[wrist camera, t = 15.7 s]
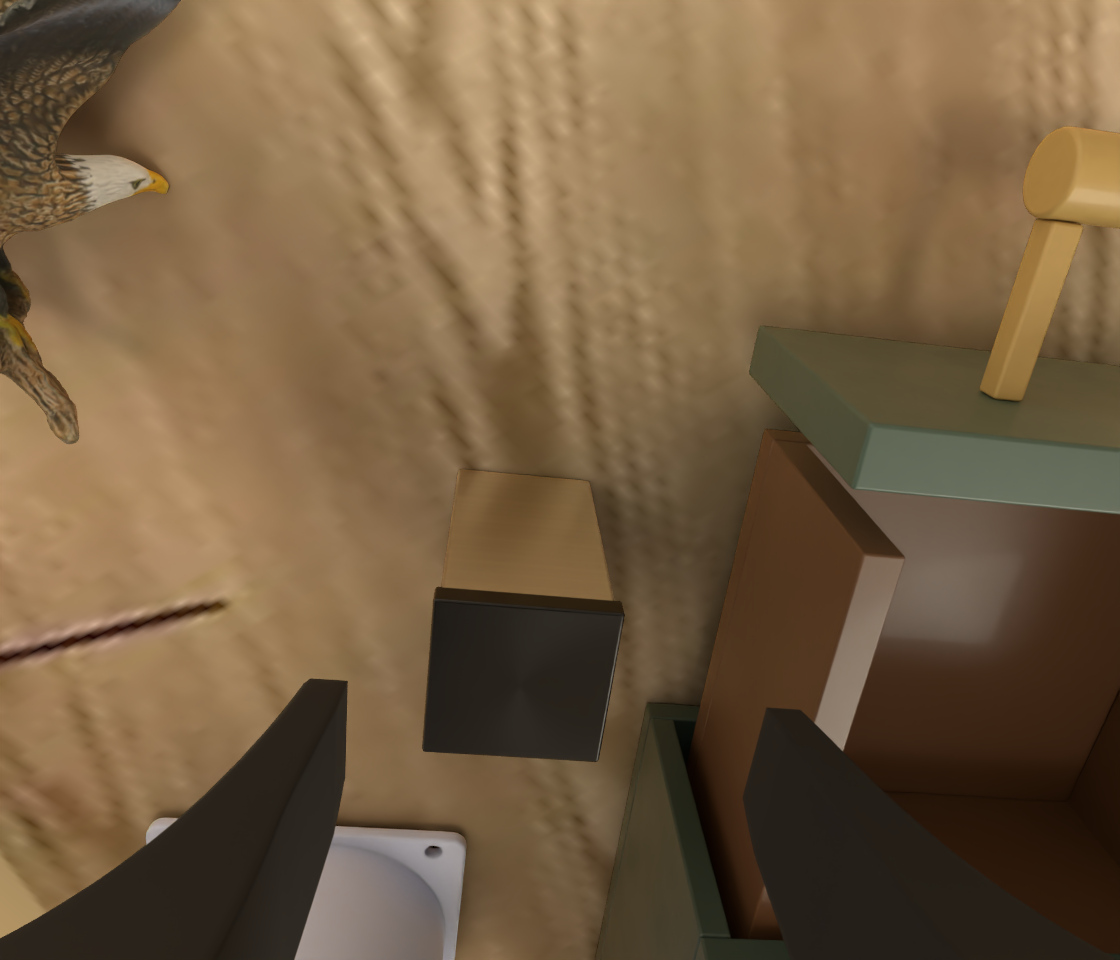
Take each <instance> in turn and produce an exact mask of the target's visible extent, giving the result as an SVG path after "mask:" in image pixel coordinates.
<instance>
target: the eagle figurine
mask: <svg viewBox="0 0 1120 960" xmlns="http://www.w3.org/2000/svg"><path fill="white" fill-rule="evenodd" d="M180 1H181V0H0V373H2V374H4V375H6V376H7V377H9V378H10V379H11V380H13V381H14V382H15V383H16V384H17V385H18V386H19V387H20V388H22V389H23V390H24V391H25V392H26V393H27V394H28V395H29V396H30V397H31V398H32V399H33V400H35V401H36V403H37V404H38V405H39V406H40V407H41V408H42V410H43V411H44V412H45V414H46V415H47V421H48V423H49V426H50V428H51V430H52V431H53V432H54V434H55V435H56V436H57V437H58V438H59V439H60V440H62V441H63V442H64V443H66V444H73V443H76V442H77V441H78V439H79V427H78V420H77V410H76V406H75V404H74V403H73V402H72V401H71V400H70V398H69V396H68V394H67V392H66V390H65V389H64V388H63V387H62V386H61V384H60V382H59V381H58V380H57V379H56V377H55V376H54V375H53V374H52V373H51V372H49V371H47V370H46V369H45V368H44V367H43V365H42V360H41V357H40V355H39V352H38V350H37V348H36V346H35V344H34V343H33V342H32V338H31V337H30V335H29V334H28V333H27V331H26V330H25V327H24V324H23V322H24V319H25V318H26V317H27V312H28V311H29V309H30V297H29V291H28V289H27V288H26V287H25V285H24V284H23V282H22V281H21V279H20V278H19V276H18V275H17V274H16V273H15V272H14V271H12V269H11V265H10V263H9V261H8V259H7V257H6V255H5V253H4V251H3V244H4V243H5V242H6V241H7V240H8V239H10V238H11V237H12V236H13V235H15V234H16V233H18V232H23V231H39V230H42V229H45V228H48V227H52V226H55V225H57V224H60V223H65V222H68V221H72V220H73V219H75V218H76V217H78V216H80V215H82V214H85V213H87V212H90V211H92V210H95V209H97V208H99V207H101V206H104V205H106V204H109V203H112V202H114V201H117V200H120V199H124V198H127V197H130V196H133V195H136V194H138V193H141V192H146V191H156V192H158V193H161V194H166V193H167V191H168V187H169V186H168V183H167V181H166V180H165V179H164V178H163V177H162V176H161V175H159V174H157V173H155V172H153V171H151V170H148V169H146V168H144V167H143V166H141V165H139V164H137V163H135V162H133V161H131V160H128V159H126V158H123V157H119V156H114V155H68V154H58V153H56V149H57V141H58V138H59V136H60V134H61V131H62V129H63V127H64V126H65V124H66V123H67V121H68V120H69V118H70V117H71V115H72V114H74V113H75V111H76V110H77V109H78V108H79V107H80V106H81V105H82V104H83V103H85V102H86V101H87V100H88V99H89V98H90V97H91V96H93V95H94V94H95V93H96V92H97V91H98V90H99V89H100V88H101V87H102V86H103V85H104V84H105V83H106V82H107V81H108V80H109V78H110V77H111V76H112V74H113V72H114V71H115V69H116V67H117V65H118V63H119V61H120V59H121V57H122V55H123V53H124V52H125V51H126V50H127V48H128V47H129V46H130V45H131V44H132V43H133V42H135V41H137V40H139V39H140V38H142V37H143V36H145V35H147V34H148V33H149V32H150V31H151V30H152V29H154V28H155V27H156V26H157V25H159V24H160V23H161V22H162V21H163V20H164V19H165V18H166V17H167V15H168V14H169V13H170V12H171V11H172V10H173V9H174V8H175V7H176V6H177V4H178V3H179V2H180Z"/></svg>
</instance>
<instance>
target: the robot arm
mask: <svg viewBox="0 0 1120 960" xmlns="http://www.w3.org/2000/svg"><path fill="white" fill-rule="evenodd" d="M347 683H348V681H340V680H324V679H309V680H308V681H307V682H305V683H304V684H303V685H302V686H301V688H300V689H299V691H298V692H297V693H296V695H295V696H294V697H293V698H292V700H291V701H290V702H289V704H288V705H287V706H286V707H285V709H284V710H283V711H282V712H281V714H280V715H279V716H278V717H277V718H276V720H275V721H274V722H273V723H272V724H271V725H270V727H269V728H268V729H267V730H266V731H265V733H264V734H263V735H262V736H261V737H260V738H259V739H258V740H257V741H256V742H255V744H254V745H253V746H252V747H251V748H250V749H249V750H248V751H247V752H246V753H245V755H244V756H243V757H242V758H241V759H240V760H239V761H238V762H237V763H236V764H235V765H234V766H233V767H232V768H231V769H230V770H229V771H228V772H227V773H226V774H225V775H224V776H223V777H222V778H221V779H220V780H219V781H218V782H217V783H216V784H215V785H214V786H213V787H212V788H211V789H210V790H209V791H208V792H207V793H206V794H205V795H204V796H203V797H202V798H201V799H200V800H199V801H197V802H196V803H195V804H194V805H193V806H192V807H191V808H190V809H189V810H187V811H186V812H185V813H184V814H183V815H182V816H181V817H179V818H159V819H156V820H154V821H153V822H152V823H151V825H150V827H149V829H148V831H147V833H146V845H145V846H144V847H143V848H141V849H140V850H139V851H137V852H136V853H135V854H133V855H132V856H131V857H129V858H128V859H127V860H125V861H124V862H123V863H121V864H120V865H119V866H117V867H116V868H115V869H113V870H112V871H110V872H109V873H108V874H106V875H105V876H103V877H102V878H100V879H99V880H97V881H96V882H95V883H93V884H92V885H90V886H88V887H87V888H85V889H84V890H82V891H81V892H79V893H77V894H76V895H74V896H73V897H71V898H70V899H68V900H66V901H65V902H63V903H62V904H60V905H58V906H57V907H55V908H53V909H52V910H50V911H48V912H47V913H45V914H43V915H42V916H40V917H39V918H37V919H35V920H33V921H31V922H30V923H28V924H26V925H24V926H23V927H21V928H19V929H17V930H15V931H13V932H11V933H10V934H8V935H6V936H4V937H2V938H0V960H455V951H456V942H457V933H458V923H459V914H460V905H461V896H462V886H463V877H464V868H465V858H466V846H467V844H466V840H465V838H464V837H463V836H462V835H460V834H459V833H455V832H446V831H426V830H406V829H386V828H366V827H346V826H336V821H337V816H338V811H339V806H340V801H341V796H342V791H343V785H344V780H345V761H346V722H347ZM743 803H744V808H745V813H746V818H747V824H748V829H749V833H750V838H751V842H752V847H753V851H754V855H755V858H756V861H757V864H758V867H759V870H760V873H761V876H762V879H763V882H764V885H765V888H766V891H767V894H768V897H769V900H770V902H771V905H772V908H773V911H774V914H775V917H776V920H777V922H778V925H779V928H780V931H781V934H782V937H783V940H784V942H785V945H786V948H787V951H788V954H789V957H790V960H1117V959H1116V958H1114V957H1112V956H1110V955H1108V954H1107V953H1105V952H1103V951H1101V950H1100V949H1098V948H1096V947H1094V946H1093V945H1091V944H1089V943H1087V942H1086V941H1084V940H1082V939H1080V938H1079V937H1077V936H1075V935H1074V934H1072V933H1070V932H1069V931H1067V930H1065V929H1064V928H1062V927H1060V926H1059V925H1057V924H1055V923H1054V922H1052V921H1051V920H1049V919H1047V918H1046V917H1044V916H1043V915H1041V914H1040V913H1038V912H1037V911H1035V910H1034V909H1032V908H1031V907H1029V906H1028V905H1026V904H1025V903H1023V902H1022V901H1020V900H1019V899H1017V898H1015V897H1014V896H1012V895H1011V894H1009V893H1008V892H1007V891H1005V890H1004V889H1002V888H1001V887H999V886H998V885H997V884H995V883H994V882H992V881H991V880H990V879H988V878H987V877H985V876H984V875H983V874H982V873H980V872H979V871H978V870H976V869H975V868H974V867H972V866H971V865H970V864H968V863H967V862H966V861H964V860H963V859H962V858H960V857H959V856H958V855H957V854H955V853H954V852H953V851H951V850H950V849H949V848H948V847H946V846H945V845H944V844H943V843H941V842H940V841H939V840H938V839H937V838H935V837H934V836H933V835H932V834H931V833H930V832H928V831H927V830H926V829H925V828H924V827H923V826H922V825H920V824H919V823H918V822H917V821H916V820H915V819H913V818H912V817H911V816H910V815H909V814H908V813H907V812H905V811H904V810H903V809H902V808H901V807H900V806H899V805H898V804H897V803H896V802H895V801H893V800H892V799H891V798H890V797H889V796H888V795H887V794H886V793H885V792H884V791H883V790H882V789H881V788H880V787H879V786H877V785H876V784H875V783H874V782H873V781H872V780H871V779H870V778H869V777H868V776H867V775H866V774H865V773H864V772H863V771H862V770H861V769H860V768H859V767H858V766H857V765H856V764H855V763H854V762H853V761H852V760H851V759H850V758H849V757H848V756H847V755H846V754H845V753H844V752H843V751H842V750H841V749H840V748H839V747H838V746H837V745H836V744H835V743H834V742H833V741H832V740H831V739H830V738H829V737H828V736H827V735H826V734H825V733H824V732H823V731H822V730H821V729H820V728H819V727H818V726H817V725H816V724H815V723H814V722H813V721H812V720H811V719H810V718H809V717H808V716H807V715H806V714H804V713H803V712H802V711H801V710H798V709H783V708H767V707H766V711H765V715H764V719H763V722H762V726H761V730H760V734H759V737H758V741H757V745H756V749H755V752H754V756H753V760H752V764H751V768H750V771H749V775H748V779H747V783H746V786H745V790H744V794H743ZM429 846H438V848H431V847H429Z"/></svg>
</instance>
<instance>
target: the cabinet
mask: <svg viewBox="0 0 1120 960" xmlns="http://www.w3.org/2000/svg"><path fill="white" fill-rule="evenodd" d="M699 709H700V706H689V705H674V704H659V703H647V705H646V710H645V715H644V720H643V725H642V730H641V735H640V740H639V745H638V750H637V755H636V760H635V765H634V770H633V775H632V780H631V785H630V789H629V794H628V799H627V804H626V809H625V814H624V819H623V824H622V829H621V834H620V839H619V844H618V849H617V854H616V859H615V864H614V869H613V874H612V879H611V884H610V889H609V894H608V898H607V903H606V908H605V913H604V918H603V923H602V928H601V933H600V938H599V943H598V948H597V953H596V958H595V960H790V957H789V954H788V951H787V948H786V945H785V942H784V941H783V940H757V939H732V938H731V935H730V931H729V927H728V923H727V919H726V916H725V912H724V908H723V904H722V901H721V897H720V893H719V889H718V886H717V882H716V878H715V874H714V871H713V867H712V863H711V859H710V856H709V852H708V848H707V844H706V841H705V837H704V833H703V829H702V826H701V822H700V818H699V814H698V811H697V807H696V803H695V799H694V796H693V792H692V788H691V784H690V781H689V777H688V773H687V769H686V764H687V760H688V756H689V751H690V747H691V743H692V739H693V734H694V730H695V726H696V721H697V717H698V713H699ZM1107 954H1108V955H1110V956H1112V957H1114V958H1116V959H1117V960H1120V954H1116V953H1107Z"/></svg>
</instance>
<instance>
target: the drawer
mask: <svg viewBox="0 0 1120 960" xmlns="http://www.w3.org/2000/svg"><path fill="white" fill-rule="evenodd" d="M1023 200H1024V204H1025V207H1026V209H1027V210H1028V212H1029V213H1030V214H1032V215H1033V216H1035V217H1037V218H1038V219H1036V220H1035V222H1034V225H1033V228H1032V231H1031V234H1030V238H1029V241H1028V244H1027V247H1026V250H1025V253H1024V256H1023V259H1022V262H1021V265H1020V268H1019V271H1018V274H1017V277H1016V280H1015V283H1014V286H1013V289H1012V292H1011V295H1010V298H1009V301H1008V304H1007V307H1006V310H1005V313H1004V316H1003V319H1002V322H1001V325H1000V328H999V331H998V334H997V337H996V340H995V343H994V346H993V349H992V352H991V351H982V350H973V349H965V348H956V347H947V346H938V345H929V344H920V343H911V342H902V341H894V340H885V339H876V338H867V337H858V336H849V335H840V334H831V333H823V332H814V331H805V330H796V329H787V328H778V327H769V326H760V327H759V329H758V334H757V338H756V343H755V347H754V352H753V357H752V361H751V366H750V370H749V373H750V375H751V376H752V378H753V379H754V380H755V381H756V382H757V383H758V384H759V385H760V386H761V388H762V389H763V390H764V391H765V392H766V393H767V394H768V395H769V397H770V398H771V399H772V400H773V401H774V402H775V403H776V404H777V405H778V407H779V408H780V409H781V410H782V411H783V412H784V413H785V414H786V416H787V417H788V418H789V419H790V420H791V421H792V422H793V423H794V424H795V426H796V427H797V428H798V429H799V430H800V431H801V432H793V431H783V430H773V429H765V430H764V433H763V438H762V442H761V446H760V451H759V455H758V459H757V464H756V468H755V472H754V476H753V481H752V485H751V489H750V494H749V498H748V502H747V507H746V511H745V515H744V519H743V524H742V528H741V532H740V537H739V541H738V545H737V549H736V554H735V558H734V562H733V567H732V571H731V575H730V580H729V584H728V588H727V592H726V597H725V601H724V605H723V610H722V614H721V618H720V623H719V627H718V631H717V635H716V640H715V644H714V648H713V653H712V657H711V661H710V666H709V670H708V674H707V678H706V683H705V687H704V691H703V696H702V700H701V704H700V709H699V713H698V717H697V721H696V726H695V730H694V734H693V739H692V743H691V747H690V751H689V756H688V760H687V764H686V769H687V773H688V777H689V781H690V784H691V788H692V792H693V796H694V799H695V803H696V807H697V811H698V814H699V818H700V822H701V826H702V829H703V833H704V837H705V841H706V844H707V848H708V852H709V856H710V859H711V863H712V867H713V871H714V874H715V878H716V882H717V886H718V889H719V893H720V897H721V901H722V904H723V908H724V912H725V916H726V919H727V923H728V927H729V931H730V935H731V938H732V939H757V940H783V937H782V934H781V931H780V928H779V925H778V922H777V920H776V917H775V914H774V911H773V908H772V905H771V902H770V900H769V897H768V894H767V891H766V888H765V885H764V882H763V879H762V876H761V873H760V870H759V867H758V864H757V861H756V858H755V855H754V851H753V847H752V842H751V838H750V833H749V829H748V824H747V818H746V813H745V808H744V803H743V794H744V790H745V786H746V783H747V779H748V775H749V771H750V768H751V764H752V760H753V756H754V752H755V749H756V745H757V741H758V737H759V734H760V730H761V726H762V722H763V719H764V715H765V711H766V707H767V708H783V709H798V710H801V711H802V712H803V713H804V714H806V715H807V716H808V717H809V718H810V719H811V720H812V721H813V722H814V723H815V724H816V725H817V726H818V727H819V728H820V729H821V730H822V731H823V732H824V733H825V734H826V735H827V736H828V737H829V738H830V739H831V740H832V741H833V742H834V743H835V744H836V745H837V746H838V747H839V748H840V749H841V750H842V751H843V752H844V753H845V754H846V755H847V756H848V757H849V758H850V759H851V760H852V761H853V762H854V763H855V764H856V765H857V766H858V767H859V768H860V769H861V770H862V771H863V772H864V773H865V774H866V775H867V776H868V777H869V778H870V779H871V780H872V781H873V782H874V783H875V784H876V785H877V786H879V787H880V788H881V789H882V790H883V791H884V792H885V793H886V794H887V795H888V796H889V797H890V798H891V799H892V800H893V801H895V802H896V803H897V804H898V805H899V806H900V807H901V808H902V809H903V810H904V811H905V812H907V813H908V814H909V815H910V816H911V817H912V818H913V819H915V820H916V821H917V822H918V823H919V824H920V825H922V826H923V827H924V828H925V829H926V830H927V831H928V832H930V833H931V834H932V835H933V836H934V837H935V838H937V839H938V840H939V841H940V842H941V843H943V844H944V845H945V846H946V847H948V848H949V849H950V850H951V851H953V852H954V853H955V854H957V855H958V856H959V857H960V858H962V859H963V860H964V861H966V862H967V863H968V864H970V865H971V866H972V867H974V868H975V869H976V870H978V871H979V872H980V873H982V874H983V875H984V876H985V877H987V878H988V879H990V880H991V881H992V882H994V883H995V884H997V885H998V886H999V887H1001V888H1002V889H1004V890H1005V891H1007V892H1008V893H1009V894H1011V895H1012V896H1014V897H1015V898H1017V899H1019V900H1020V901H1022V902H1023V903H1025V904H1026V905H1028V906H1029V907H1031V908H1032V909H1034V910H1035V911H1037V912H1038V913H1040V914H1041V915H1043V916H1044V917H1046V918H1047V919H1049V920H1051V921H1052V922H1054V923H1055V924H1057V925H1059V926H1060V927H1062V928H1064V929H1065V930H1067V931H1069V932H1070V933H1072V934H1074V935H1075V936H1077V937H1079V938H1080V939H1082V940H1084V941H1086V942H1087V943H1089V944H1091V945H1093V946H1094V947H1096V948H1098V949H1100V950H1101V951H1103V952H1105V953H1116V954H1120V366H1115V365H1106V364H1098V363H1089V362H1080V361H1071V360H1062V359H1053V358H1044V357H1038V355H1039V352H1040V349H1041V347H1042V344H1043V341H1044V338H1045V335H1046V332H1047V330H1048V327H1049V324H1050V321H1051V318H1052V316H1053V313H1054V310H1055V307H1056V304H1057V301H1058V299H1059V296H1060V293H1061V290H1062V287H1063V285H1064V282H1065V279H1066V276H1067V273H1068V270H1069V268H1070V265H1071V262H1072V259H1073V256H1074V254H1075V251H1076V248H1077V245H1078V242H1079V240H1080V237H1081V234H1082V231H1083V226H1082V225H1081V224H1087V225H1095V226H1103V227H1110V228H1118V229H1120V133H1114V132H1107V131H1100V130H1093V129H1086V128H1079V127H1071V126H1066V127H1062V128H1059V129H1056V130H1054V131H1053V132H1051V133H1050V134H1049V135H1048V136H1046V137H1045V138H1044V140H1043V141H1042V142H1041V143H1040V144H1039V146H1038V147H1037V149H1036V150H1035V152H1034V154H1033V156H1032V158H1031V160H1030V162H1029V165H1028V167H1027V170H1026V174H1025V178H1024V183H1023ZM1077 223H1079V224H1077ZM783 941H784V940H783Z"/></svg>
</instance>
